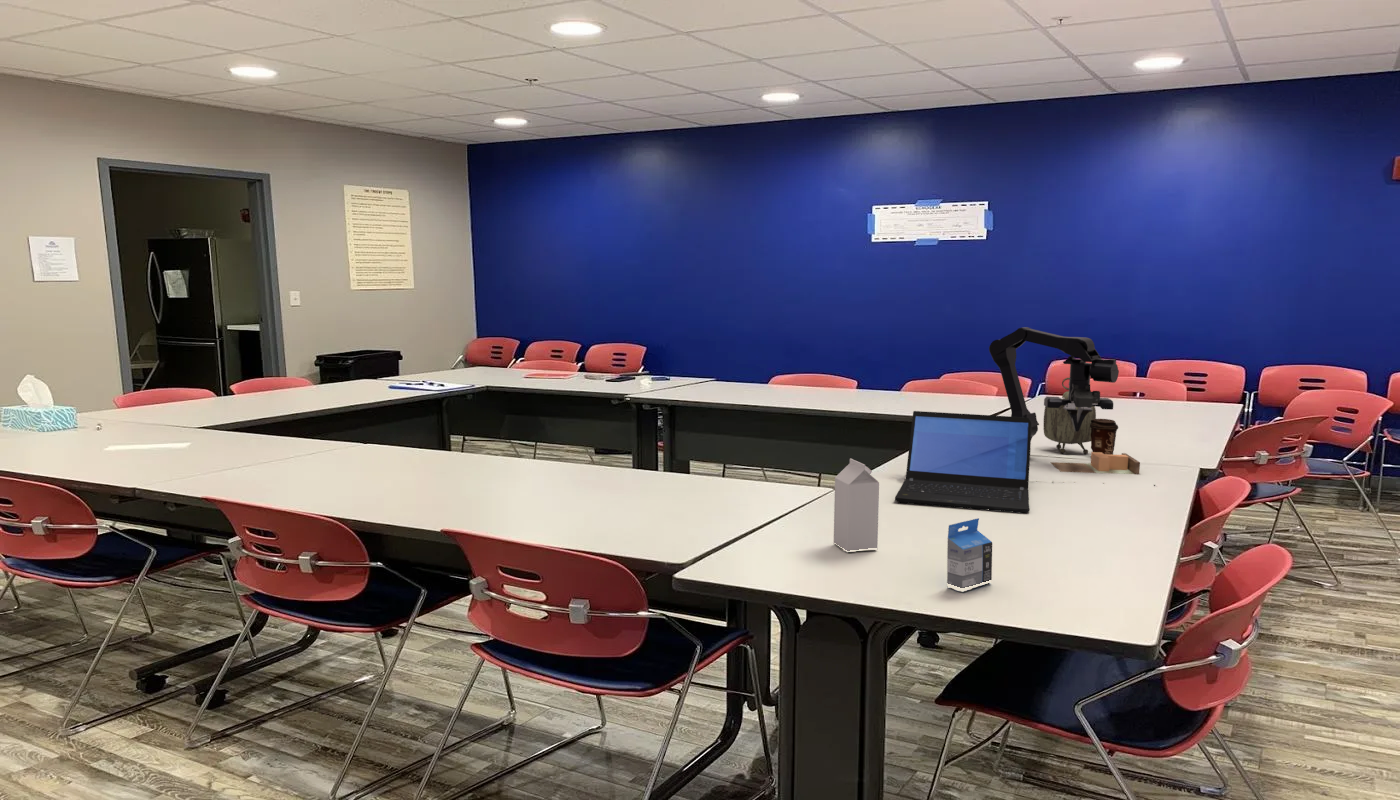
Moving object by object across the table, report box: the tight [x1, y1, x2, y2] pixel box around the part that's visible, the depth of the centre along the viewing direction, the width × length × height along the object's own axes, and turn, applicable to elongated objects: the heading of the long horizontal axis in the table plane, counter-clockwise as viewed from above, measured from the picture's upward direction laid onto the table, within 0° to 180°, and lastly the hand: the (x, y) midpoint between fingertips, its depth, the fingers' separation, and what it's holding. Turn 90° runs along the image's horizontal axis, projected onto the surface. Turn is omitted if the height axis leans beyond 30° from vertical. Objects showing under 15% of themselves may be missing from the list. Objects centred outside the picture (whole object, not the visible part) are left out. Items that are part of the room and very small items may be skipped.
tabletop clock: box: [1043, 377, 1097, 455], centre depth 312 cm, size 14×9×25 cm, turn 30°
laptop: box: [894, 410, 1032, 514], centre depth 254 cm, size 33×38×19 cm
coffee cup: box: [1090, 418, 1119, 455], centre depth 300 cm, size 9×8×13 cm
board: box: [1050, 452, 1141, 475], centre depth 283 cm, size 22×14×4 cm, turn 82°
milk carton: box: [833, 458, 880, 551], centre depth 203 cm, size 7×7×19 cm
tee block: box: [1090, 451, 1128, 471], centre depth 283 cm, size 9×9×4 cm
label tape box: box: [946, 517, 993, 588], centre depth 179 cm, size 9×4×12 cm, turn 126°
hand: (1076, 431), depth 284 cm, fingers closed
